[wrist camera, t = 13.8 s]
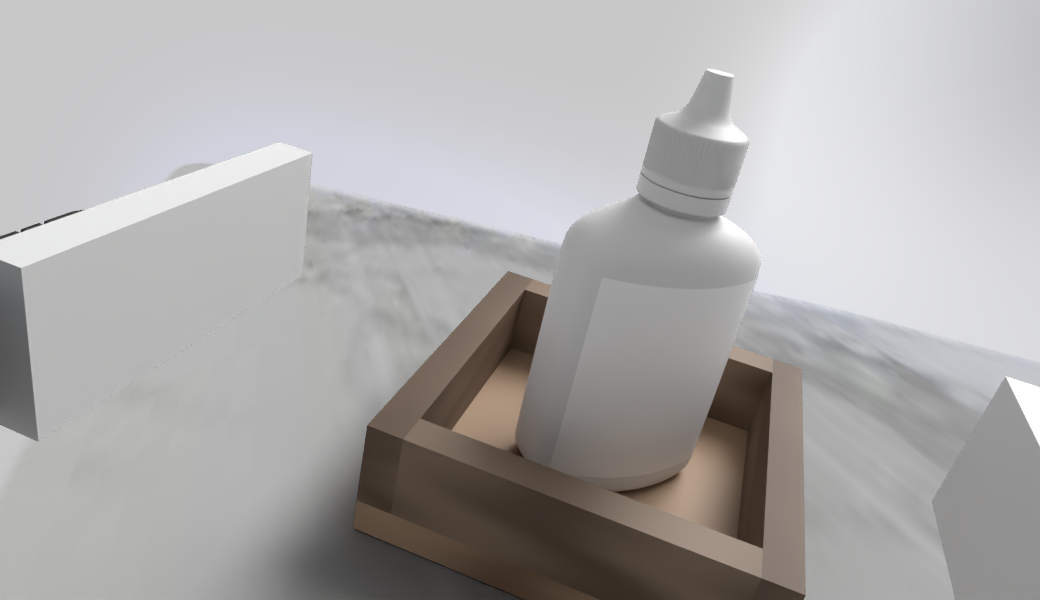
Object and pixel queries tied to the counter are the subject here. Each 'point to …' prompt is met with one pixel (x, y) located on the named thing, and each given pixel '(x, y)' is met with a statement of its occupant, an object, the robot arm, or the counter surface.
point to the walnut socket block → (576, 503)
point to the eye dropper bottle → (645, 309)
